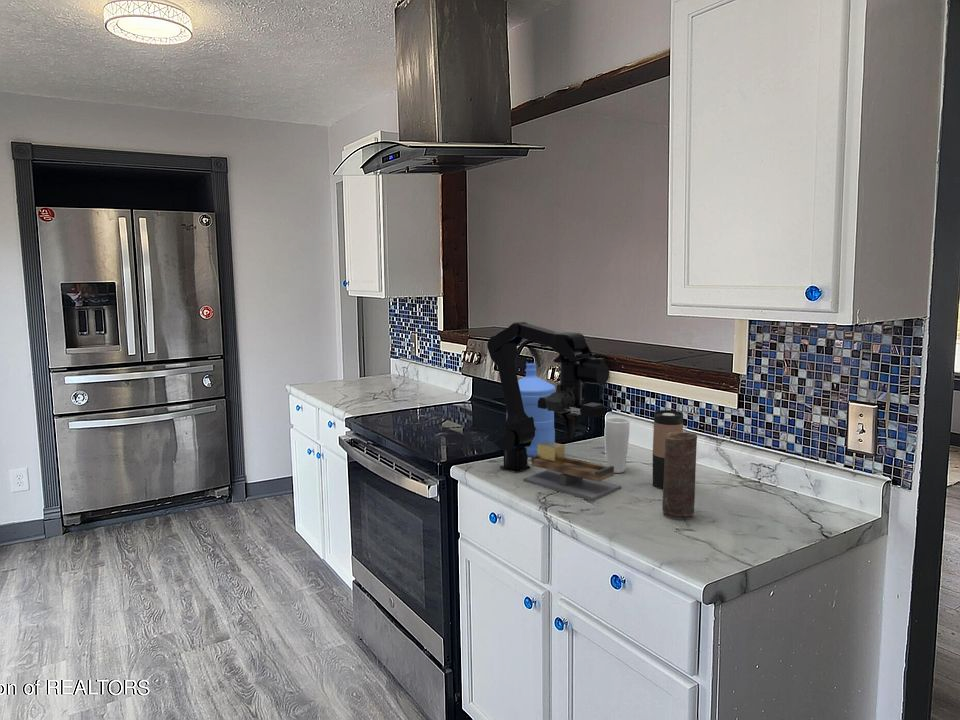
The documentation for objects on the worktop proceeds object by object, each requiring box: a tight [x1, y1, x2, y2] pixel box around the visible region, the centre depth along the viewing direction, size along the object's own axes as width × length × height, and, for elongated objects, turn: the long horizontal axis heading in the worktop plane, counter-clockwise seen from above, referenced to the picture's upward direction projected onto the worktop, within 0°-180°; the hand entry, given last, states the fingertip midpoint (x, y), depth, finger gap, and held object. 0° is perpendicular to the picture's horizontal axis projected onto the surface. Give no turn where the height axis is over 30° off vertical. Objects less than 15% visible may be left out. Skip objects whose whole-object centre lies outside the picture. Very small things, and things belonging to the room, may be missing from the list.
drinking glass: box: [604, 417, 630, 474], centre depth 200 cm, size 7×7×15 cm
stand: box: [522, 469, 622, 502], centre depth 188 cm, size 23×13×4 cm, turn 46°
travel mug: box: [652, 409, 684, 490], centre depth 186 cm, size 8×8×20 cm
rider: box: [537, 441, 566, 464], centre depth 192 cm, size 6×4×5 cm
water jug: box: [505, 362, 556, 457], centre depth 221 cm, size 16×16×28 cm
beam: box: [531, 455, 615, 482], centre depth 188 cm, size 22×7×2 cm, turn 46°
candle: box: [661, 431, 698, 517], centre depth 164 cm, size 8×7×20 cm
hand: (570, 437), depth 188 cm, fingers closed
